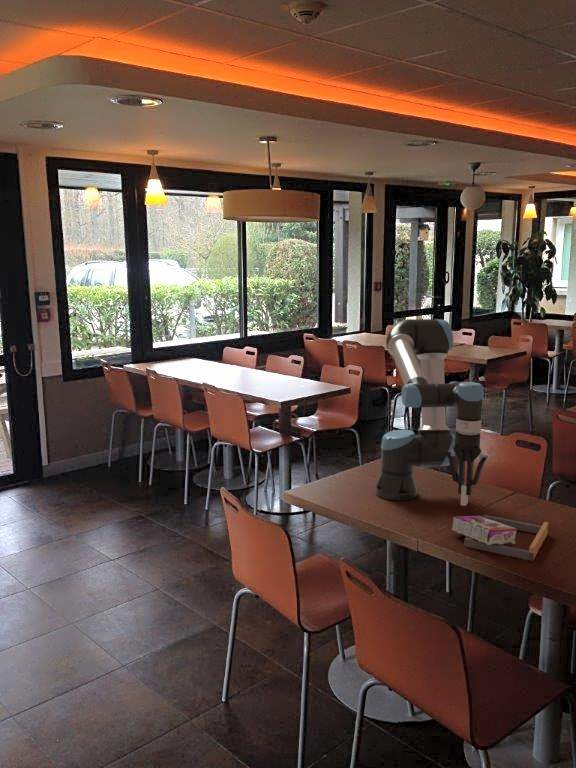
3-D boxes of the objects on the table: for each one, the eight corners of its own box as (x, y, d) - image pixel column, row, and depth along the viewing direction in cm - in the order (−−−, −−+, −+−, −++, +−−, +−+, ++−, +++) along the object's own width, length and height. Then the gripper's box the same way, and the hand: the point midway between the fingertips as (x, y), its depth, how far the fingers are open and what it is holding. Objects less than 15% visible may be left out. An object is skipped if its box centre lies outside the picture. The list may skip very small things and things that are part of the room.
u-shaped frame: (464, 546, 207) (464, 533, 206) (484, 521, 226) (484, 510, 225) (532, 561, 197) (533, 548, 196) (547, 534, 216) (548, 522, 215)
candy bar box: (479, 514, 219) (517, 528, 204) (478, 529, 219) (516, 544, 204) (452, 515, 214) (489, 529, 199) (450, 531, 214) (487, 546, 199)
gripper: (443, 431, 212) (440, 503, 216) (485, 437, 205) (481, 511, 210) (451, 426, 218) (447, 496, 223) (492, 432, 212) (487, 504, 216)
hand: (464, 504), depth 216 cm, fingers closed
